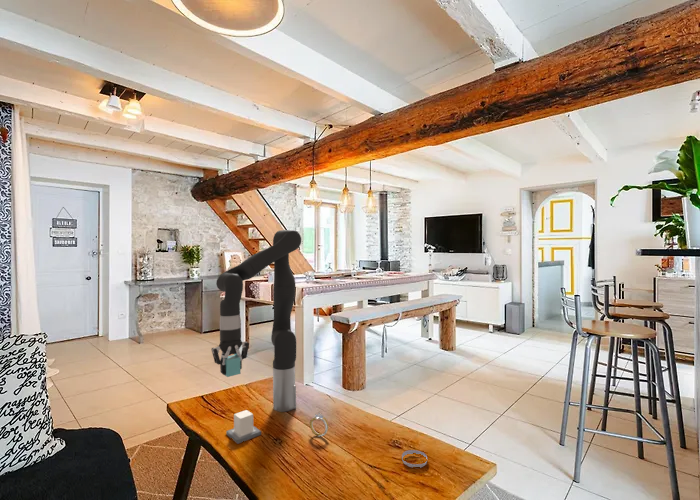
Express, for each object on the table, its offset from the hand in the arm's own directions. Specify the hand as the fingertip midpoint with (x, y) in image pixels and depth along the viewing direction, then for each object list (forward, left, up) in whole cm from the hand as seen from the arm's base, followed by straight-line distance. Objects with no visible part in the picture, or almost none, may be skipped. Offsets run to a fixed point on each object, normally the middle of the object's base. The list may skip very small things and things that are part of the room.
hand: (231, 372), depth 134 cm
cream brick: (-4, +5, -20) cm, 21 cm away
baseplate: (-4, +5, -21) cm, 22 cm away
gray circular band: (-56, +38, -22) cm, 71 cm away
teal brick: (0, 0, 0) cm, 0 cm away
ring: (-30, +14, -21) cm, 40 cm away
